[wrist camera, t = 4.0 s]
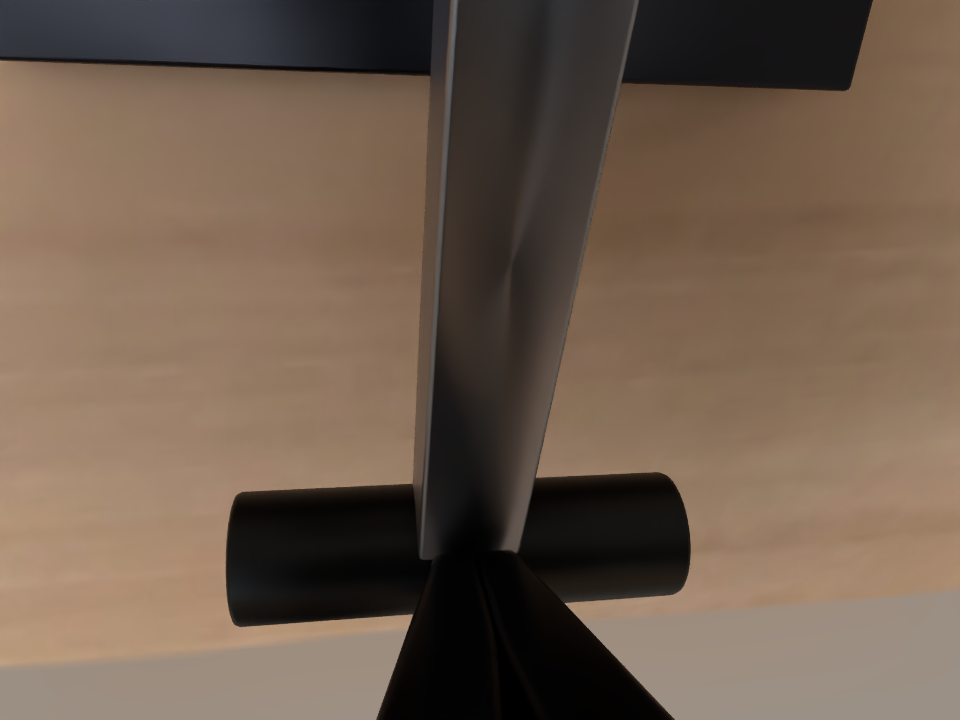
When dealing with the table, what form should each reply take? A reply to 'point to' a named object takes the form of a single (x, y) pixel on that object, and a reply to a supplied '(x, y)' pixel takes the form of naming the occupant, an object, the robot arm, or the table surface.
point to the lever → (484, 348)
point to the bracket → (408, 38)
